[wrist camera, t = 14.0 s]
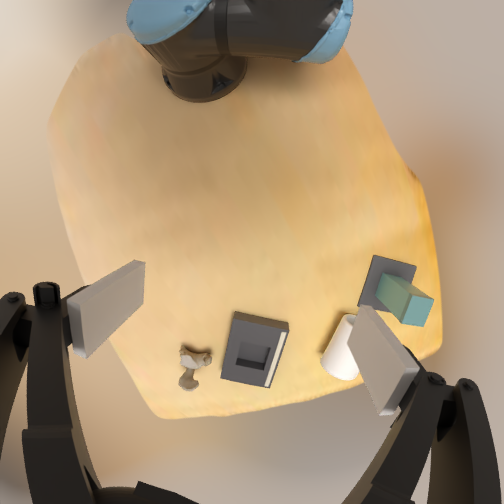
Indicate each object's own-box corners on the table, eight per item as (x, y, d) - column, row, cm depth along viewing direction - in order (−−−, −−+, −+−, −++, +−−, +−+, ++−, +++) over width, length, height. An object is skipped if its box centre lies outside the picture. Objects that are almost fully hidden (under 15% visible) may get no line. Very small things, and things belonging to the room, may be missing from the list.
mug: (317, 352, 50) (323, 376, 42) (338, 309, 48) (350, 329, 40) (366, 364, 50) (377, 386, 42) (388, 324, 48) (404, 344, 40)
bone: (192, 331, 49) (199, 377, 41) (216, 342, 53) (225, 385, 45) (166, 351, 51) (169, 394, 43) (189, 360, 55) (195, 400, 47)
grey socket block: (235, 311, 49) (233, 318, 46) (288, 322, 49) (289, 330, 46) (222, 369, 52) (220, 378, 49) (269, 379, 52) (269, 388, 49)
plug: (374, 295, 46) (401, 323, 35) (382, 272, 45) (412, 295, 34) (394, 299, 46) (423, 326, 35) (401, 277, 45) (434, 299, 34)
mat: (373, 254, 45) (374, 255, 45) (415, 266, 45) (416, 266, 45) (357, 305, 47) (357, 306, 47) (399, 313, 47) (400, 314, 47)
